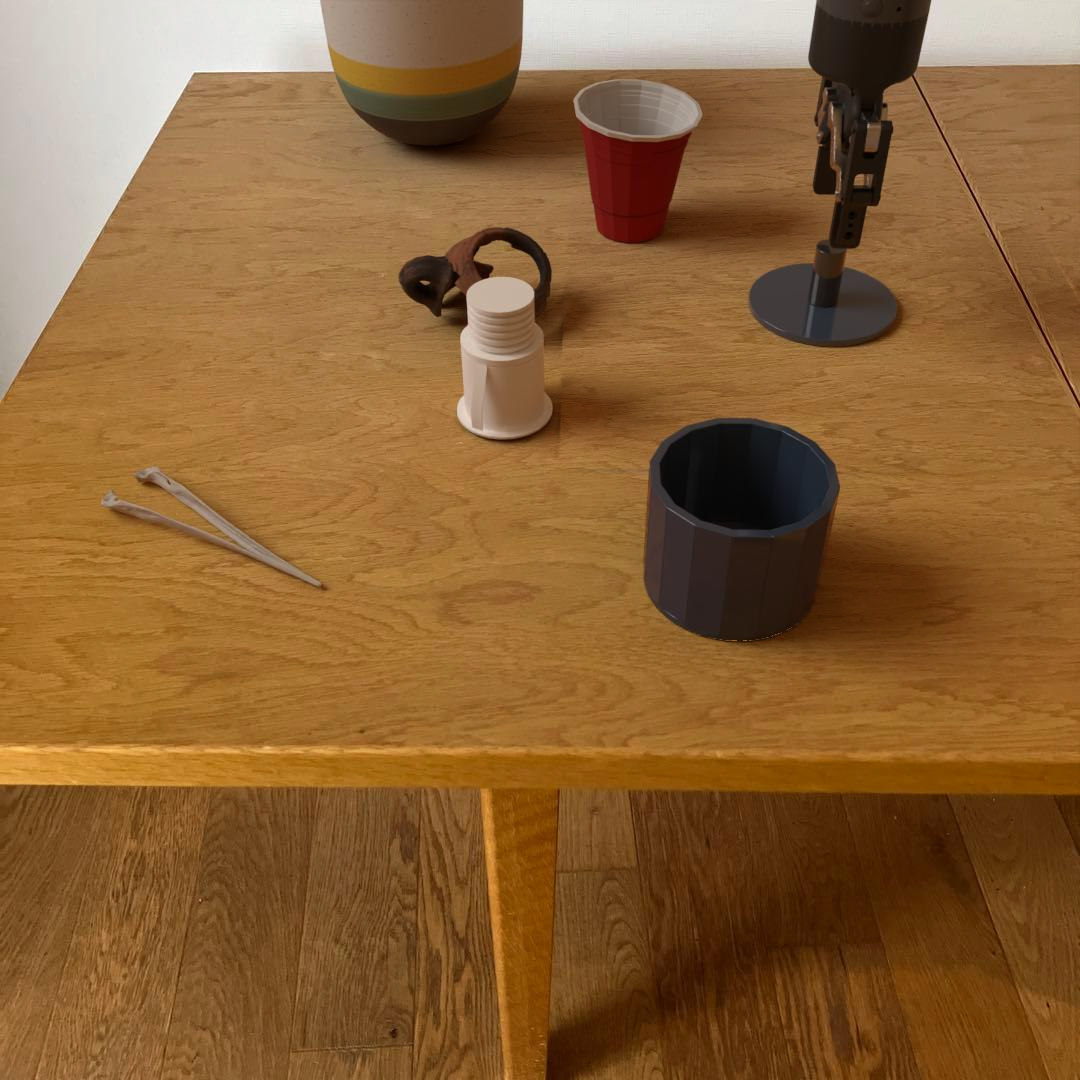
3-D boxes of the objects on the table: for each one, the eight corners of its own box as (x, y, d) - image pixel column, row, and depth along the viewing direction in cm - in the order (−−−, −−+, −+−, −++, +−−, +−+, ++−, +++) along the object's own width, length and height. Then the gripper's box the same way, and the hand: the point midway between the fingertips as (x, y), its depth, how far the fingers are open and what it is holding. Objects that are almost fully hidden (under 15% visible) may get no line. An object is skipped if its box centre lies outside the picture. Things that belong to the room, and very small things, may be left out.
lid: (880, 275, 102) (894, 210, 98) (907, 354, 93) (923, 286, 89) (741, 274, 102) (748, 210, 98) (755, 353, 93) (763, 285, 89)
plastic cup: (660, 275, 102) (669, 140, 94) (549, 245, 106) (549, 113, 98) (711, 221, 109) (724, 91, 101) (606, 195, 113) (610, 67, 105)
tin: (805, 521, 79) (824, 418, 73) (828, 643, 71) (852, 537, 65) (640, 519, 79) (646, 416, 73) (646, 640, 71) (653, 535, 65)
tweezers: (97, 512, 80) (91, 490, 79) (150, 475, 83) (145, 452, 82) (298, 624, 74) (295, 602, 73) (346, 580, 77) (345, 558, 76)
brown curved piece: (514, 276, 103) (549, 216, 96) (535, 371, 100) (573, 317, 93) (379, 269, 98) (405, 205, 91) (397, 369, 95) (426, 311, 88)
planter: (493, 185, 114) (483, -54, 100) (306, 162, 119) (271, -71, 104) (549, 104, 128) (547, -116, 114) (379, 86, 132) (357, -129, 118)
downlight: (490, 372, 92) (484, 255, 85) (572, 397, 89) (572, 278, 83) (435, 429, 87) (425, 310, 80) (521, 457, 84) (517, 336, 77)
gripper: (953, 38, 75) (901, 266, 86) (908, -36, 86) (867, 176, 97) (833, 37, 76) (797, 265, 87) (803, -37, 86) (774, 175, 97)
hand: (834, 218), depth 92 cm, fingers open, 8 cm apart
